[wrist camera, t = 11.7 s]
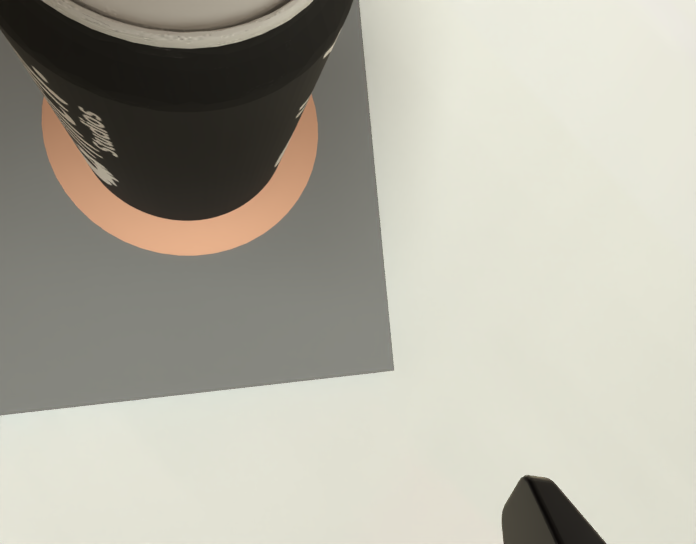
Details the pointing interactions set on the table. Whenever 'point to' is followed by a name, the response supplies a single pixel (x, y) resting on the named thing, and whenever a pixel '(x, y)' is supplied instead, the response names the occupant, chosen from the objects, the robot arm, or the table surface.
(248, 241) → the placemat
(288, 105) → the beverage can
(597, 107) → the table surface
